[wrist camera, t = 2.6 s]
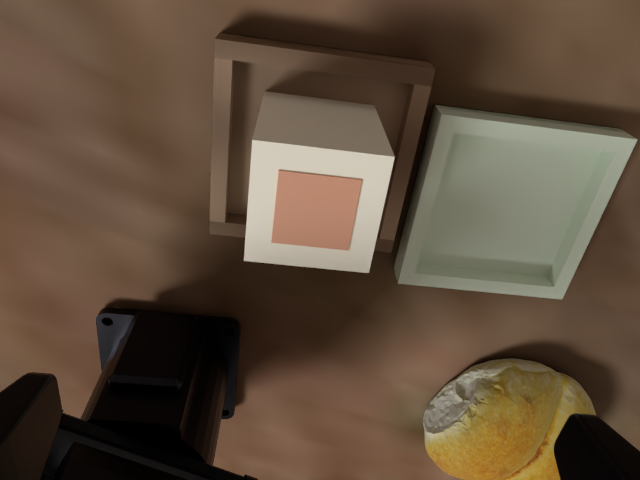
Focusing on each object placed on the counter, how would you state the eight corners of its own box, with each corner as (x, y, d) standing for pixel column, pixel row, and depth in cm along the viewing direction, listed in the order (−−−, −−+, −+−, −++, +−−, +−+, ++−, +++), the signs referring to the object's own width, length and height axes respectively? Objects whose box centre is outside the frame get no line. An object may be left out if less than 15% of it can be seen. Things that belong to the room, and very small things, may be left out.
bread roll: (511, 475, 31) (536, 542, 28) (396, 423, 29) (408, 490, 25) (619, 395, 28) (663, 460, 24) (499, 327, 25) (530, 389, 22)
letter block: (356, 202, 21) (370, 274, 16) (256, 191, 20) (243, 261, 16) (375, 105, 19) (397, 157, 14) (264, 91, 18) (252, 140, 14)
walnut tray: (387, 237, 22) (391, 252, 21) (214, 219, 21) (209, 234, 20) (428, 61, 18) (435, 69, 17) (219, 32, 18) (214, 38, 17)
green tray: (551, 283, 24) (562, 299, 23) (393, 267, 23) (397, 283, 22) (620, 128, 20) (637, 139, 19) (434, 104, 19) (441, 114, 18)
